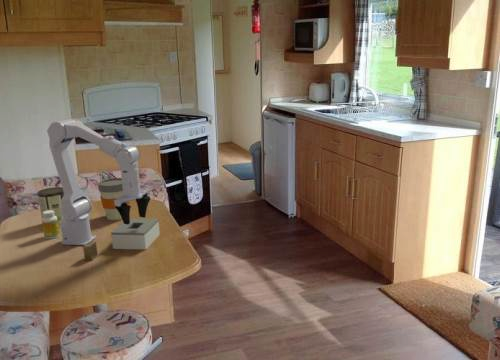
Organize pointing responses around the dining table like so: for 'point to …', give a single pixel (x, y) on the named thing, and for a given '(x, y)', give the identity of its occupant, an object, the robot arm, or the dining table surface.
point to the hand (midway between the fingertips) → (134, 220)
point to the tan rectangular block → (90, 251)
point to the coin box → (135, 234)
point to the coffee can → (51, 201)
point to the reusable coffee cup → (111, 196)
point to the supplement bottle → (50, 225)
